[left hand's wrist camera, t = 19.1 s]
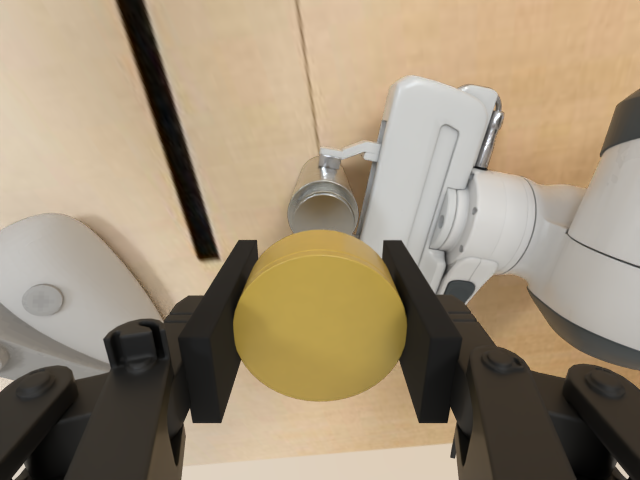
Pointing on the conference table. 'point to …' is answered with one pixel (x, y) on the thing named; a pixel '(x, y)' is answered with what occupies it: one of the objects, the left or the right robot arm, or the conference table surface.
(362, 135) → the conference table surface
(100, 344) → the projector
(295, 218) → the bottle
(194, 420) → the left robot arm
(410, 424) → the conference table surface
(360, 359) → the lid
